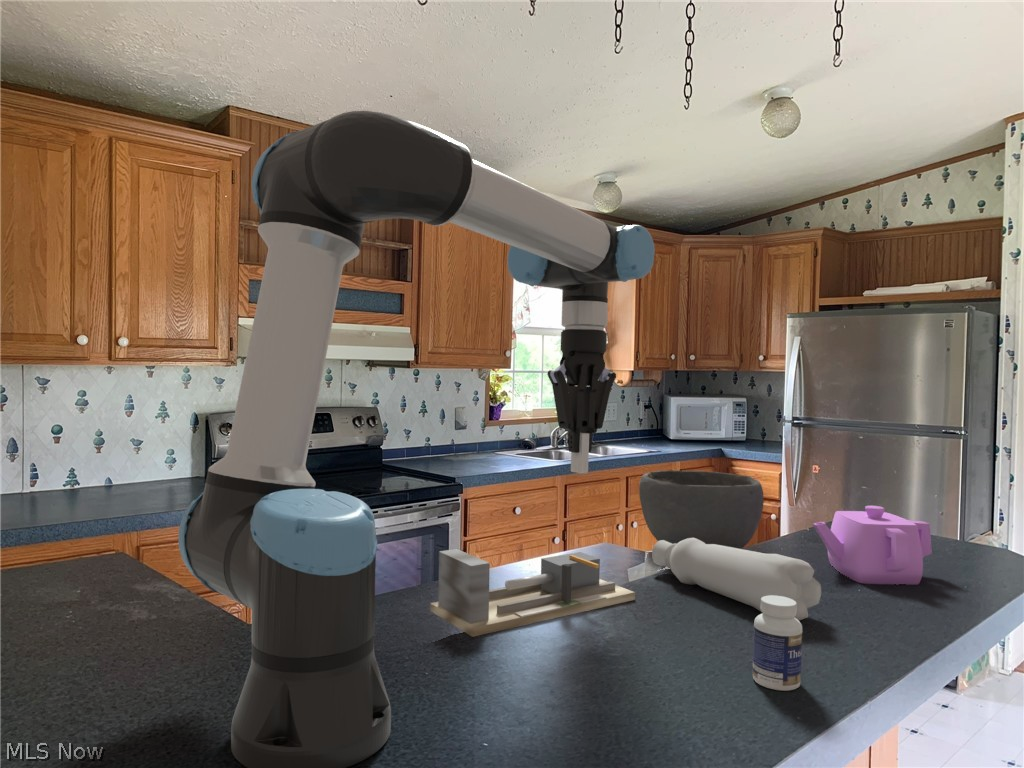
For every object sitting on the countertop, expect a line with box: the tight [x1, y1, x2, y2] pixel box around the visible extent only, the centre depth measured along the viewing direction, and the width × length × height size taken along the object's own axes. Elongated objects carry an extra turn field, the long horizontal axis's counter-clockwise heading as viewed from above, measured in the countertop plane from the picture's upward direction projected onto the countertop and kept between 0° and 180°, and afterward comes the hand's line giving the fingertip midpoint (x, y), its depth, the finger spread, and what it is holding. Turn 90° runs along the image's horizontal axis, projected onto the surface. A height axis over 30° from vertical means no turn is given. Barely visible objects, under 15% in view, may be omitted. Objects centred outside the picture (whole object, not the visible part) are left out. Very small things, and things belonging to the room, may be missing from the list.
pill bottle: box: [752, 595, 803, 692], centre depth 87 cm, size 5×5×10 cm
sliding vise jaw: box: [504, 551, 601, 594], centre depth 113 cm, size 9×16×5 cm, turn 125°
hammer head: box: [562, 564, 572, 603], centre depth 110 cm, size 1×1×5 cm
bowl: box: [638, 469, 765, 549], centre depth 148 cm, size 24×24×15 cm
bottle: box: [651, 538, 822, 621], centre depth 120 cm, size 9×9×30 cm
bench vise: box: [429, 548, 636, 638], centre depth 113 cm, size 12×30×9 cm, turn 125°
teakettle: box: [812, 505, 933, 586], centre depth 134 cm, size 17×17×12 cm
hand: (579, 472), depth 122 cm, fingers closed
